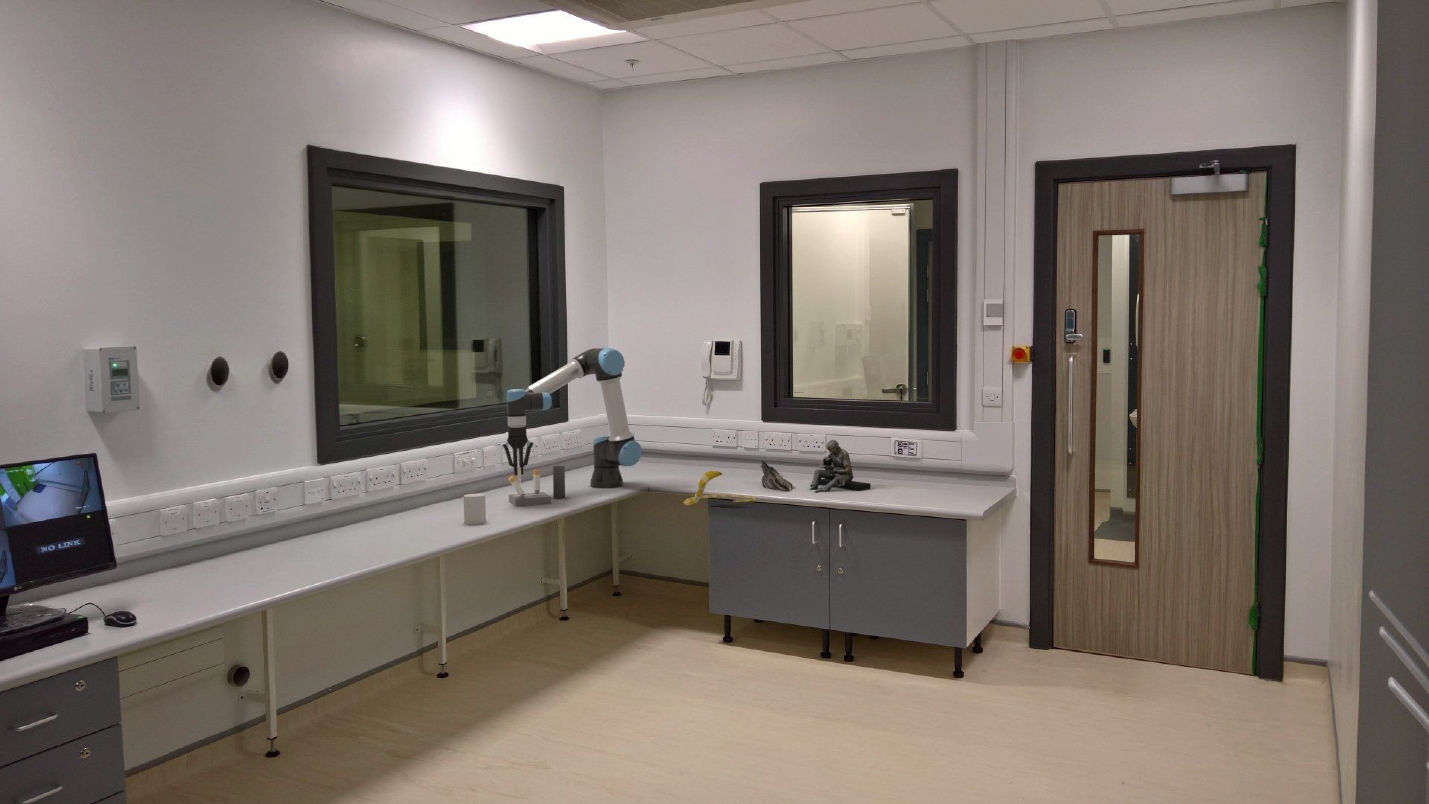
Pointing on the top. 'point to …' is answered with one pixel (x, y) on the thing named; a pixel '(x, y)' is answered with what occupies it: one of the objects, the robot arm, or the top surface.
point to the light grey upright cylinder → (474, 508)
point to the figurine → (836, 471)
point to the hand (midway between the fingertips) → (518, 482)
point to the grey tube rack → (530, 499)
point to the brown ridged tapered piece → (773, 478)
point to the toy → (702, 484)
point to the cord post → (558, 482)
